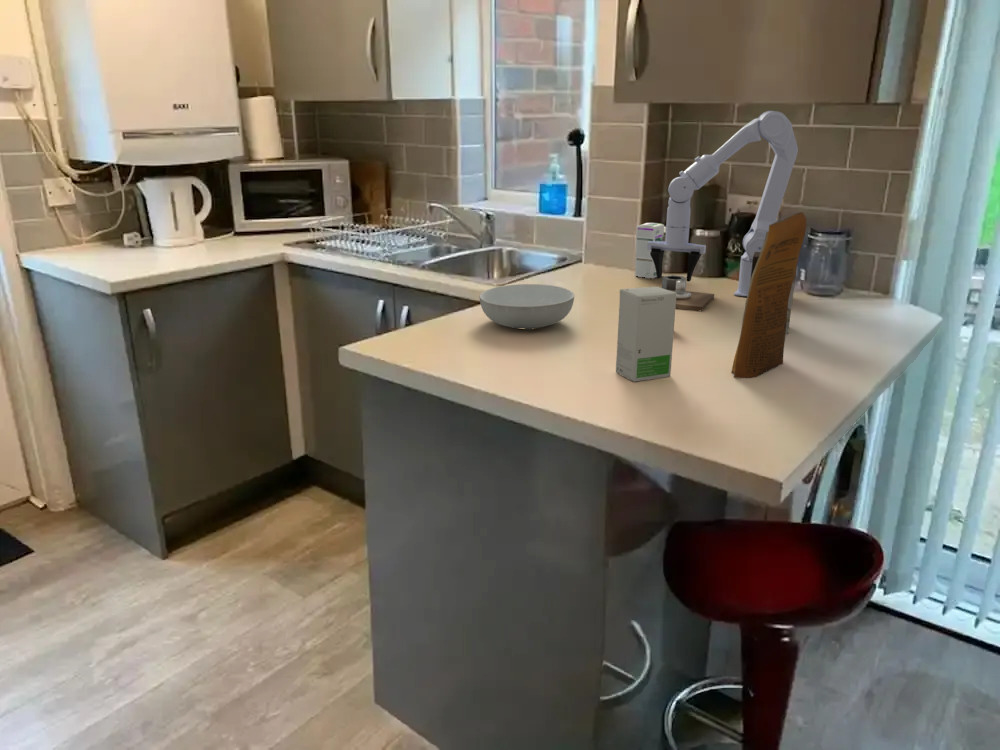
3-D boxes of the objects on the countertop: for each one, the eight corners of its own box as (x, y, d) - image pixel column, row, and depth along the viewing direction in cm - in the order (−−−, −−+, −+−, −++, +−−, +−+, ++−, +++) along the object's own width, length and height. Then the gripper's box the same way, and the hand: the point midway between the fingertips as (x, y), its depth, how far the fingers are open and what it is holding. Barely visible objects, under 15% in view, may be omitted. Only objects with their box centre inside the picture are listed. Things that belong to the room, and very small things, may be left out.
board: (714, 297, 195) (714, 293, 195) (701, 310, 184) (702, 306, 183) (659, 292, 201) (659, 288, 201) (643, 304, 189) (643, 300, 189)
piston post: (692, 296, 193) (693, 280, 192) (687, 300, 189) (688, 284, 187) (671, 293, 195) (672, 278, 194) (666, 298, 191) (667, 282, 190)
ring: (686, 289, 204) (687, 276, 203) (681, 294, 199) (682, 280, 198) (665, 287, 206) (666, 274, 205) (659, 292, 201) (660, 278, 200)
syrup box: (652, 279, 216) (656, 226, 211) (633, 276, 219) (636, 224, 214) (662, 275, 220) (665, 223, 215) (643, 273, 224) (646, 221, 219)
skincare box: (633, 383, 138) (637, 296, 132) (613, 371, 143) (617, 288, 138) (672, 376, 141) (678, 291, 136) (651, 365, 147) (656, 284, 141)
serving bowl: (514, 307, 188) (514, 279, 186) (590, 320, 177) (591, 290, 174) (460, 327, 172) (460, 297, 170) (541, 343, 161) (541, 310, 158)
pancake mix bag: (802, 361, 148) (821, 212, 139) (752, 386, 136) (770, 224, 126) (769, 353, 153) (785, 208, 144) (718, 377, 140) (732, 219, 131)
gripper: (710, 225, 197) (705, 278, 202) (653, 222, 203) (650, 273, 208) (704, 229, 191) (699, 284, 196) (646, 226, 197) (643, 278, 202)
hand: (673, 279), depth 202 cm, fingers open, 7 cm apart
